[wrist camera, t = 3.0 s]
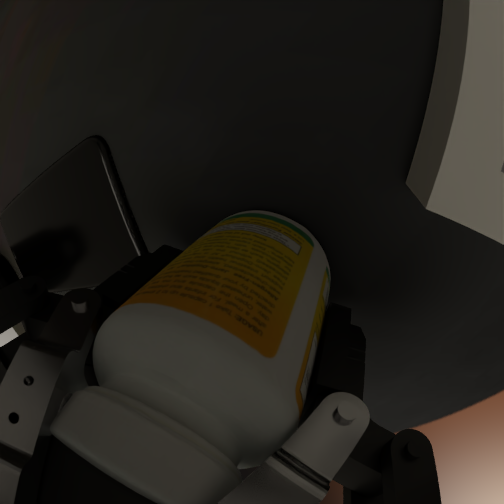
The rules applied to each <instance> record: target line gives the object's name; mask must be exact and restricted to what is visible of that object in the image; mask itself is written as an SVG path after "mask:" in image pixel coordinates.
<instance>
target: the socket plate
mask: <svg viewBox="0 0 504 504" xmlns="http://www.w3.org/2000/svg"><path fill="white" fill-rule="evenodd" d="M405 184H406V185H407V186H408V187H409V188H410V190H411V191H412V192H413V193H414V195H415V196H416V197H417V198H418V200H419V201H420V202H421V203H422V205H423V206H424V207H425V209H427V210H430V211H432V212H435V213H437V214H439V215H442V216H444V217H446V218H449V219H451V220H453V221H455V222H458V223H460V224H462V225H464V226H466V227H469V228H471V229H473V230H475V231H477V232H479V233H481V234H483V235H485V236H487V237H490V238H492V239H494V240H496V241H498V242H499V243H501V244H503V245H504V0H443V12H442V22H441V31H440V39H439V46H438V53H437V59H436V65H435V70H434V76H433V81H432V86H431V91H430V95H429V100H428V104H427V109H426V113H425V117H424V121H423V125H422V129H421V132H420V136H419V140H418V143H417V147H416V150H415V154H414V157H413V160H412V164H411V167H410V170H409V173H408V176H407V180H406V183H405Z"/></svg>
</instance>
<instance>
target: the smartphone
mask: <svg viewBox="0 0 504 504" xmlns="http://www.w3.org/2000/svg"><path fill="white" fill-rule="evenodd" d="M112 159H113V158H112V156H111V152H110V149H109V147H108V144H107V143H106V141H105V140H104V139H103V138H102V137H101V136H98V135H95V136H90V137H88V138H86V139H85V140H83V141H82V142H81V143H79V144H78V145H77V146H75V147H74V148H73V149H71V150H70V151H69V152H67V153H66V154H65V155H64V156H62V157H61V158H60V159H59V160H57V161H56V162H55V163H54V164H52V165H51V166H50V167H49V168H48V169H46V170H45V171H44V172H43V173H42V174H41V175H39V176H38V177H37V178H36V179H35V180H34V181H33V182H32V183H30V184H29V185H28V186H27V187H26V188H25V189H24V190H23V191H22V192H21V193H20V194H18V195H17V196H16V197H15V198H14V199H13V200H12V202H10V203H9V205H8V206H7V207H6V208H5V209H4V210H3V211H2V212H1V216H0V219H1V224H2V227H3V230H4V233H5V235H6V238H7V240H8V243H9V245H10V248H11V250H12V253H13V255H14V257H15V260H16V262H17V264H18V267H19V269H20V271H21V273H22V275H23V277H27V276H39V277H41V278H43V279H44V280H45V282H46V285H47V289H48V292H51V293H54V292H61V291H68V290H74V289H77V288H91V287H97V286H99V285H100V284H101V283H103V282H104V281H105V280H106V279H108V278H109V277H110V276H112V275H113V274H114V273H116V272H117V271H120V269H121V268H122V267H123V266H125V265H127V263H129V262H130V261H131V260H133V259H134V258H136V257H137V256H140V255H143V254H146V253H148V250H147V248H146V246H145V243H144V241H143V239H142V236H141V235H140V231H138V230H139V229H138V226H136V225H137V223H136V221H135V218H134V216H133V213H132V211H131V210H130V211H129V210H128V209H127V206H126V204H125V201H124V197H126V195H125V192H124V189H123V187H122V184H121V182H120V178H118V176H119V175H118V173H117V170H116V169H115V164H114V161H113V160H112Z"/></svg>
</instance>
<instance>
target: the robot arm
mask: <svg viewBox="0 0 504 504" xmlns="http://www.w3.org/2000/svg"><path fill="white" fill-rule="evenodd" d="M182 252H183V251H182V250H179V249H176V248H173V247H171V246H168V245H163V246H161V247H160V248H159V249H157V250H156V251H155V252H153V253H146V254H143V255H140V256H137V257H136V258H134V259H133V260H131V261H130V262H129V263H127V265H125V266H123V267H122V268H121V269H120V271H117V272H116V273H114V274H113V275H112V276H110V277H109V278H108V279H106V280H105V281H104V282H103V283H101V284H100V285H99V286H97V287H96V288H95V289H94V290H92V289H88V288H77V289H74V290H71V291H69V292H67V293H66V294H65V295H64V296H63V295H59V294H55V293H51V292H48V289H47V285H46V282H45V280H44V279H43V278H41V277H39V276H27V277H24V278H21V279H19V280H18V281H16V282H14V283H12V284H10V285H8V286H6V287H4V288H2V289H0V334H1V333H3V332H4V331H6V330H8V329H9V328H11V327H13V326H14V325H16V324H18V323H20V322H22V324H23V327H24V329H25V331H26V332H25V333H23V334H21V335H20V336H18V337H16V338H15V339H13V340H12V341H10V342H8V343H7V344H5V345H4V346H2V347H0V504H157V503H155V502H153V501H151V500H149V499H148V498H146V497H144V496H142V495H140V494H139V493H137V492H135V491H133V490H132V489H130V488H128V487H127V486H125V485H123V484H122V483H120V482H118V481H117V480H115V479H113V478H112V477H110V476H109V475H107V474H106V473H104V472H102V471H101V470H99V469H98V468H96V467H95V466H94V465H92V464H91V463H89V462H88V461H86V460H85V459H84V458H82V457H81V456H79V455H78V454H77V453H75V452H74V451H73V450H71V449H70V448H69V447H67V446H66V445H65V444H63V443H62V442H61V441H60V440H58V439H57V438H56V437H55V436H54V435H53V434H52V433H51V431H50V425H51V423H52V422H53V420H54V418H55V417H56V416H57V414H58V412H59V411H60V410H61V409H62V408H63V406H64V405H65V404H66V403H67V402H68V401H69V399H70V398H71V396H72V395H73V394H74V393H75V392H77V391H81V390H84V389H85V388H86V387H88V386H99V383H98V381H97V378H96V375H95V372H94V367H93V346H94V341H95V338H96V335H97V333H98V331H99V329H100V327H101V326H102V324H103V323H104V322H105V321H106V320H107V318H108V317H109V316H110V315H111V314H112V313H113V312H114V311H116V310H117V309H118V308H119V307H120V306H121V305H122V304H123V303H125V302H126V301H127V300H128V299H129V298H130V297H131V296H133V295H134V294H135V293H136V292H137V291H138V290H139V289H140V288H142V287H143V286H144V285H145V284H146V283H148V282H149V281H150V280H151V279H152V278H153V277H155V276H156V275H157V274H158V273H159V272H160V271H161V270H162V269H164V268H165V267H166V266H167V265H168V264H169V263H171V262H172V261H173V260H174V259H175V258H176V257H178V256H179V255H180V254H181V253H182ZM350 321H351V309H350V308H347V307H344V306H341V305H338V304H335V303H332V302H331V303H330V304H329V306H328V308H327V311H326V314H325V319H324V323H323V328H322V332H321V337H320V342H319V346H318V350H317V356H316V360H315V364H314V368H313V373H312V377H311V381H310V385H309V389H308V393H307V397H306V401H305V404H304V407H303V411H302V414H301V418H300V421H299V424H298V429H297V431H296V432H295V433H294V434H293V435H292V436H291V437H290V438H289V439H288V440H287V441H286V442H285V444H284V445H283V446H282V447H281V448H280V449H278V450H277V451H275V452H274V453H273V454H272V455H271V456H270V457H269V458H268V459H267V460H265V461H264V462H263V463H262V464H261V465H260V466H259V467H258V468H257V469H256V470H255V471H254V472H253V473H252V474H251V475H249V476H248V477H247V478H246V479H245V480H244V481H243V482H242V483H241V484H239V485H238V486H237V487H236V488H235V489H234V490H232V491H231V492H230V493H229V494H228V495H227V496H225V497H224V498H223V499H222V500H220V501H219V502H218V503H217V504H319V503H320V502H321V500H322V499H323V498H324V497H325V495H326V494H327V492H328V490H329V488H330V486H329V483H330V481H331V480H334V481H336V482H338V483H339V484H341V485H343V496H344V497H343V499H344V500H343V504H441V497H440V489H439V483H438V476H437V471H436V465H435V459H434V455H433V449H432V445H431V443H430V441H429V440H428V438H427V437H426V436H425V435H424V434H423V433H421V432H420V431H417V430H414V429H405V430H402V431H400V432H399V433H397V434H396V435H395V434H394V433H392V432H390V431H388V430H386V429H384V428H383V427H381V426H379V425H377V424H376V423H375V422H373V421H372V420H371V419H370V415H369V411H368V408H367V407H366V405H365V404H364V402H363V388H364V372H365V363H364V362H365V349H366V339H365V336H364V334H363V332H362V330H361V327H358V326H355V325H351V324H350Z"/></svg>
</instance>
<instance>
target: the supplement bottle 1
mask: <svg viewBox="0 0 504 504" xmlns="http://www.w3.org/2000/svg"><path fill="white" fill-rule="evenodd" d="M16 281H18V278H17V276H16V274H15V272H14V271H13V269H12V267H11V266H10V265H9V263H8V262H7V261H6V260H5V259H4V258H3V257H1V256H0V289H2V288H4V287H6V286H8V285H10V284H12V283H14V282H16Z"/></svg>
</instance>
